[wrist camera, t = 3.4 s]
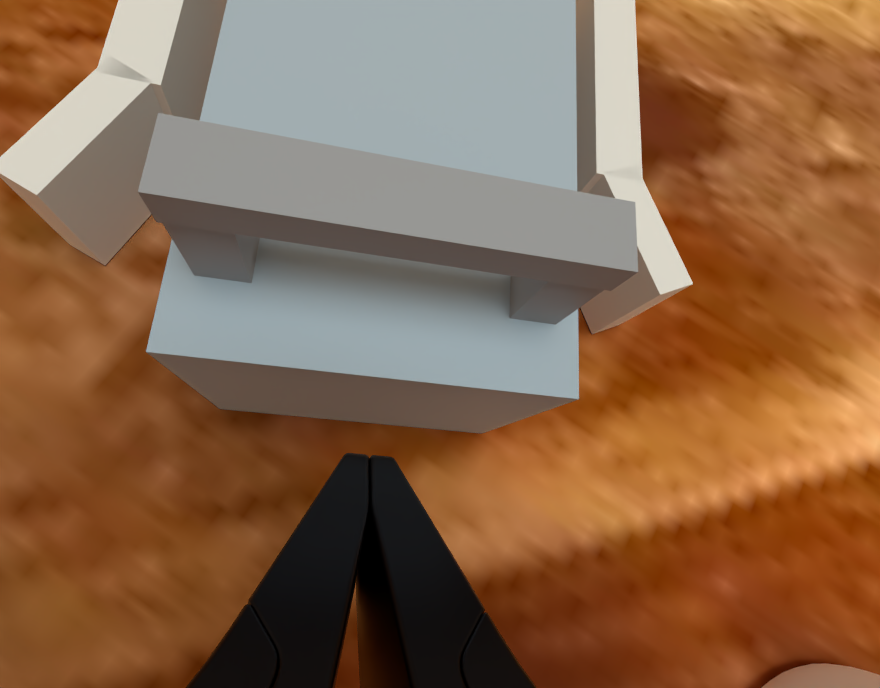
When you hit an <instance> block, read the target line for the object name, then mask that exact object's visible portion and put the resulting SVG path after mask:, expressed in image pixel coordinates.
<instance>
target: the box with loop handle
mask: <svg viewBox="0 0 880 688" xmlns="http://www.w3.org/2000/svg"><path fill="white" fill-rule="evenodd" d="M138 193H139V195H140V196H141V198H142V200H143V201H144V203H145V204H146V206H147V208H148V209H149V211H150V212H151V214H152V216H153V217H154V219H155V220H156V222H159V223H163V225H164V226H165V228H166V230H167V231H168V233H169V235H170V236H171V238H172V241H171V246H170V250H169V254H168V259H167V263H166V267H165V272H164V276H163V280H162V285H161V289H160V293H159V298H158V302H157V306H156V311H155V315H154V319H153V324H152V328H151V332H150V337H149V341H148V345H147V350H146V352H147V353H148V354H149V355H151V356H152V357H153V358H155V359H156V360H157V361H158V362H160V363H161V364H162V365H164V366H165V367H166V368H167V369H169V370H170V371H171V372H173V373H174V374H175V375H177V376H178V377H179V378H180V379H182V380H183V381H184V382H186V383H187V384H188V385H189V386H191V387H192V388H193V389H195V390H196V391H197V392H198V393H200V394H201V395H202V396H204V397H205V398H206V399H207V400H209V401H210V402H211V403H213V404H214V405H215V406H216V407H218V408H219V409H225V410H235V411H246V412H257V413H268V414H278V415H289V416H300V417H310V418H321V419H332V420H343V421H353V422H364V423H375V424H385V425H396V426H407V427H418V428H428V429H439V430H450V431H460V432H471V433H485V432H488V431H490V430H493V429H496V428H499V427H502V426H505V425H507V424H510V423H513V422H516V421H519V420H521V419H524V418H527V417H530V416H533V415H536V414H538V413H541V412H544V411H547V410H550V409H552V408H555V407H558V406H561V405H564V404H567V403H569V402H572V401H575V400H578V399H579V351H578V308H580V307H581V306H583V305H584V304H585V303H587V302H588V301H590V300H591V299H592V298H594V297H595V296H597V295H598V294H599V293H601V292H602V291H604V290H608V291H612V290H613V289H615V288H616V287H618V286H619V285H620V284H622V283H623V282H625V281H626V280H628V279H629V278H631V277H632V276H633V275H635V274H636V273H638V254H637V231H636V207H635V202H632V201H627V200H621V199H616V198H611V197H605V196H600V195H595V194H589V193H584V192H579V191H577V102H576V0H227V4H226V8H225V12H224V17H223V21H222V25H221V30H220V34H219V38H218V43H217V47H216V51H215V55H214V60H213V64H212V68H211V73H210V77H209V81H208V86H207V90H206V94H205V99H204V103H203V107H202V112H201V116H200V120H194V119H188V118H183V117H178V116H172V115H167V114H162V113H158V115H157V119H156V123H155V127H154V131H153V135H152V139H151V142H150V146H149V150H148V154H147V158H146V162H145V166H144V169H143V173H142V177H141V181H140V185H139V189H138Z"/></svg>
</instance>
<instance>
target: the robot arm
mask: <svg viewBox="0 0 880 688" xmlns="http://www.w3.org/2000/svg"><path fill="white" fill-rule="evenodd" d="M355 583H356V610H357V632H358V654H359V676H360V688H536V686H535V685H534V683H533V682H532V681H531V679H530V678H529V677H528V675H527V674H526V672H525V671H524V670H523V668H522V667H521V665H520V664H519V663H518V661H517V659H516V658H515V656H514V655H513V653H512V652H511V650H510V649H509V647H508V645H507V644H506V642H505V641H504V639H503V638H502V636H501V634H500V633H499V631H498V630H497V628H496V626H495V625H494V623H493V621H492V620H491V618H490V616H489V614H488V613H486V612H485V613H484V611H485V609H484V607H483V605H482V603H481V602H480V600H479V598H478V597H477V595H476V593H475V592H474V590H473V588H472V587H471V585H470V583H469V582H468V580H467V578H466V577H465V575H464V573H463V572H462V570H461V569H460V567H459V565H458V564H457V562H456V560H455V559H454V557H453V555H452V554H451V552H450V550H449V549H448V547H447V545H446V544H445V542H444V540H443V539H442V537H441V535H440V534H439V532H438V530H437V529H436V527H435V526H434V524H433V522H432V521H431V519H430V517H429V516H428V514H427V512H426V511H425V509H424V507H423V506H422V504H421V502H420V501H419V499H418V497H417V496H416V494H415V492H414V491H413V489H412V487H411V486H410V484H409V482H408V481H407V479H406V478H405V476H404V474H403V473H402V471H401V469H400V468H399V466H398V464H397V463H396V461H395V459H394V458H392V457H387V456H376V455H373V456H371V457H370V458H369V457H368V456H367V455H364V454H353V453H347V454H345V455H344V456H343V458H342V459H341V461H340V462H339V464H338V465H337V467H336V468H335V470H334V471H333V473H332V474H331V476H330V477H329V479H328V480H327V482H326V483H325V485H324V486H323V488H322V489H321V491H320V493H319V494H318V496H317V497H316V499H315V500H314V502H313V503H312V505H311V506H310V508H309V509H308V511H307V512H306V514H305V515H304V517H303V518H302V520H301V521H300V523H299V524H298V526H297V528H296V529H295V531H294V532H293V534H292V535H291V537H290V538H289V540H288V541H287V543H286V544H285V546H284V547H283V549H282V550H281V552H280V553H279V555H278V556H277V558H276V559H275V561H274V562H273V564H272V566H271V567H270V569H269V570H268V572H267V573H266V575H265V576H264V578H263V579H262V581H261V582H260V584H259V585H258V587H257V588H256V590H255V591H254V593H253V594H252V596H251V597H250V599H249V601H248V604H247V605H245V606H244V608H243V609H242V611H241V612H240V614H239V615H238V617H237V618H236V620H235V621H234V623H233V624H232V626H231V627H230V629H229V630H228V632H227V633H226V634H225V636H224V637H223V639H222V640H221V642H220V643H219V644H218V646H217V647H216V649H215V650H214V651H213V653H212V654H211V656H210V657H209V659H208V660H207V661H206V663H205V664H204V665H203V666H202V668H201V669H200V670H199V671H198V673H197V674H196V675H195V676H194V678H193V679H192V680H191V682H190V683H189V684H188V685H187V687H186V688H335V683H336V678H337V673H338V668H339V663H340V658H341V653H342V648H343V643H344V638H345V633H346V628H347V623H348V618H349V613H350V608H351V603H352V598H353V593H354V588H355Z"/></svg>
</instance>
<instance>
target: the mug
mask: <svg viewBox="0 0 880 688" xmlns="http://www.w3.org/2000/svg"><path fill="white" fill-rule="evenodd" d="M762 688H880V675H878V674H875V673H872V672H869V671H865V670H862V669H858V668H854V667H849V666H842V665H835V664H828V663H820V664H809V665H804V666H799V667H796V668H793V669H790V670H788V671H785V672H783V673H781V674H779V675H778V676H776V677H775V678H773V679H771V680H770V681H769V682H767V683H766V684H765V685H764V686H763V687H762Z"/></svg>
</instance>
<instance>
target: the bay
mask: <svg viewBox="0 0 880 688" xmlns="http://www.w3.org/2000/svg"><path fill="white" fill-rule="evenodd" d="M226 4H227V0H119V1H118V4H117V7H116V10H115V13H114V16H113V20H112V23H111V26H110V29H109V32H108V35H107V39H106V42H105V45H104V48H103V51H102V54H101V58H100V61H99V64H98V67H97V68H96V69H95V70H94V71H93V72H92V73H91V74H90V75H89V76H88V77H87V78H86V79H85V80H83V81H82V82H81V83H80V84H79V85H78V86H77V87H76V88H75V89H74V90H73V91H72V92H70V93H69V94H68V95H67V96H66V97H65V98H64V99H63V100H62V101H61V102H60V103H58V104H57V105H56V106H55V107H54V108H53V109H52V110H51V111H50V112H49V113H48V114H47V115H45V116H44V117H43V118H42V119H41V120H40V121H39V122H38V123H37V124H36V125H35V126H34V127H32V128H31V129H30V130H29V131H28V132H27V133H26V134H25V135H24V136H23V137H22V138H21V139H19V140H18V141H17V142H16V143H15V144H14V145H13V146H12V147H11V148H10V149H9V150H8V151H6V152H5V153H4V154H3V155H2V156H1V157H0V178H1V179H2V180H3V181H5V182H6V183H7V184H8V185H9V186H10V187H11V188H12V189H13V190H14V191H15V192H16V193H17V194H18V195H19V196H20V197H21V198H22V199H23V200H24V201H25V202H26V203H27V204H28V205H29V206H30V207H31V208H32V209H33V210H34V211H35V212H36V213H38V214H39V215H40V216H41V217H42V218H43V219H44V220H45V221H46V222H47V223H48V224H49V225H50V226H51V227H52V228H53V229H54V230H55V231H56V232H57V233H58V234H59V235H60V236H61V237H62V238H63V239H64V240H65V241H66V242H67V243H68V244H69V245H71V246H73V247H74V248H76V249H78V250H80V251H81V252H83V253H85V254H86V255H88V256H90V257H91V258H93V259H95V260H96V261H98V262H100V263H101V264H103V265H106V264H107V263H108V262H109V261H110V260H111V259H112V258H113V256H114V255H115V254H116V253H117V252H118V251H119V250H120V249H121V248H122V246H123V245H124V244H125V243H126V242H127V241H128V240H129V239H130V238H131V236H132V235H133V234H134V233H135V232H136V231H137V230H138V229H139V228H140V226H141V225H142V224H143V223H144V222H145V221H146V220H147V219H148V218H149V216H150V215H151V212H150V211H149V209H148V208H147V206H146V204H145V203H144V201H143V200H142V198H141V196H140V195H139V193H138V189H139V185H140V181H141V177H142V173H143V169H144V166H145V162H146V158H147V154H148V150H149V146H150V142H151V139H152V135H153V131H154V127H155V123H156V119H157V115H158V113H162V114H167V115H172V116H178V117H183V118H188V119H194V120H200V116H201V112H202V107H203V103H204V99H205V94H206V90H207V86H208V81H209V77H210V73H211V68H212V64H213V60H214V55H215V51H216V47H217V43H218V38H219V34H220V30H221V25H222V21H223V17H224V12H225V8H226ZM576 102H577V191H579V192H584V193H589V194H595V195H600V196H605V197H611V198H616V199H621V200H627V201H632V202H635V207H636V231H637V254H638V273H636V274H635V275H633V276H632V277H631V278H629V279H628V280H626V281H625V282H623V283H622V284H620V285H619V286H618V287H616V288H615V289H613V290H612V291H608V290H604V291H602V292H601V293H599V294H598V295H597V296H595V297H594V298H592V299H591V300H590V301H588V302H587V303H585V304H584V305H583V306H581V307H580V308H581V310H582V313H583V315H584V317H585V320H586V322H587V324H588V326H589V329H590V331H591V333H592V334H594V333H597V332H600V331H603V330H606V329H609V328H612V327H615V326H617V325H620V324H622V323H624V322H625V321H627V320H629V319H631V318H633V317H634V316H636V315H638V314H640V313H642V312H643V311H645V310H647V309H649V308H651V307H652V306H654V305H656V304H658V303H660V302H661V301H663V300H665V299H667V298H669V297H670V296H672V295H674V294H676V293H678V292H679V291H681V290H683V289H685V288H687V287H688V286H690V285H692V284H693V283H692V280H691V278H690V276H689V274H688V272H687V270H686V268H685V266H684V264H683V262H682V260H681V258H680V255H679V253H678V251H677V249H676V247H675V245H674V243H673V241H672V239H671V237H670V235H669V233H668V231H667V228H666V226H665V224H664V222H663V220H662V218H661V216H660V214H659V212H658V210H657V208H656V206H655V204H654V201H653V199H652V197H651V195H650V193H649V191H648V189H647V187H646V185H645V183H644V181H643V179H642V156H641V133H640V109H639V86H638V62H637V39H636V15H635V0H576Z"/></svg>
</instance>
